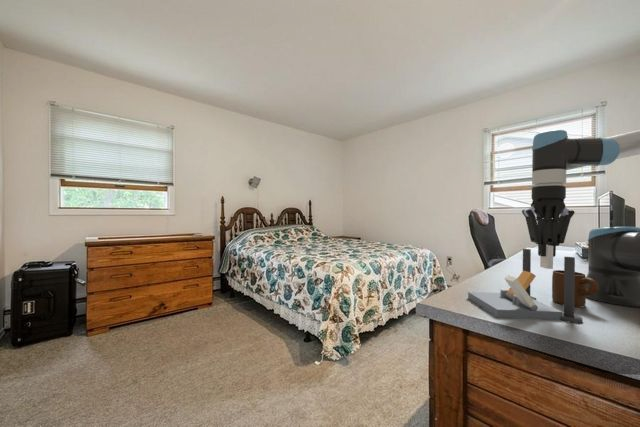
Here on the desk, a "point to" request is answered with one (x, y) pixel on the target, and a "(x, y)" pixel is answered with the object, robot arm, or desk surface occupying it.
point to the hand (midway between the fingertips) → (546, 267)
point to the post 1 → (527, 266)
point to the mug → (579, 288)
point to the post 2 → (569, 291)
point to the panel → (512, 306)
